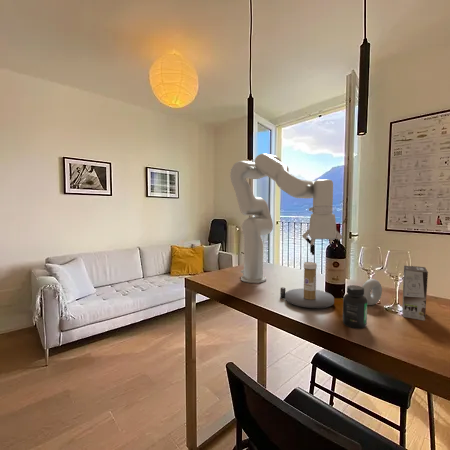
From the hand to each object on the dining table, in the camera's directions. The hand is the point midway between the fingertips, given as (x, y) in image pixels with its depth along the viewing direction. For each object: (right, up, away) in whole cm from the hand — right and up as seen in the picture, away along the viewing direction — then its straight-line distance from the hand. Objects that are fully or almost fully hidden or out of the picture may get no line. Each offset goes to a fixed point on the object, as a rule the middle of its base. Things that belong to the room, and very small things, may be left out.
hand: (321, 254), depth 112 cm
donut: (+16, -18, -8) cm, 26 cm away
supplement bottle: (+2, -20, -25) cm, 32 cm away
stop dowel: (-16, -18, 0) cm, 24 cm away
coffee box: (+25, -19, -17) cm, 36 cm away
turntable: (-7, -17, -4) cm, 19 cm away
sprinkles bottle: (-7, -16, -8) cm, 19 cm away
